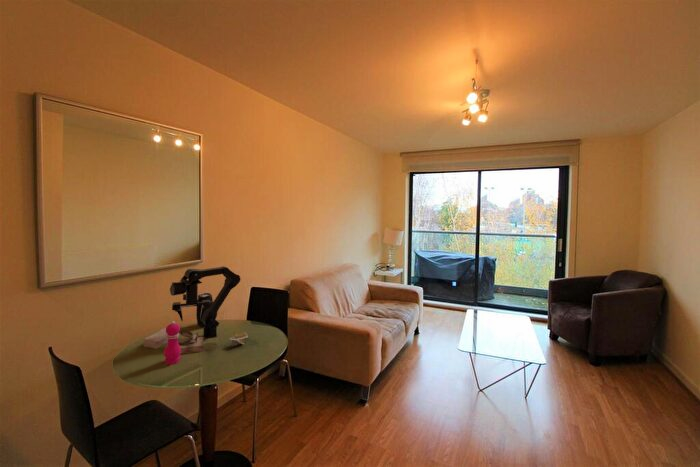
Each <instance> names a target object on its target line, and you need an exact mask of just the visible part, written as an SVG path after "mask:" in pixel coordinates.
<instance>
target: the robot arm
mask: <svg viewBox="0 0 700 467" xmlns="http://www.w3.org/2000/svg"><path fill="white" fill-rule="evenodd" d="M217 275H218V276H220V275H223V277H224V278H225V279H224V283H223V286H222V288H221V290H220V291H219V292H218V294H217V295H216V297H215V299H214V300H213V303H212V305H211V302H210V300H203V301H202V302H198V295H199V294H198V293H199V292H198V290H199V289H198V288H199V286H198V285H199V284H202V283H203V282H202V281H201V279H203V278H207V277H212V276H217ZM240 282H241V276H240V275H239V274H237V273H234V271H232V270H231V269H230V268H228V267H227V266H224V265H223V266H219V267H212V268H211V267H210V268H204V269H201V268H200V269H198V268H187V269H186V270H185V271H184V274H183V276H182V277H181V279H180V281H175V282H171V285H170V287H169V292H170V295H171V296H178V295H182V296H183V297H182V301H185V303H181V301H175V302H172V304H171V305H172V306H171V308H172V309H171V311H174V312H175V313H176V312H177V314H178V316H179V318H180V321H181V322H183V320H184V319H183V312H182V310H183V309H182V308H189V307H197V306H202V309H201V314H200V315H201V316H200V320H201V321H202V322H203V324H205V327H203V334H202V337H203V339H208V338H217V336H218V334H217V327H219V325H220V322H219V321H218V320H216V319H217V317H218V312H219V309H220V308H221V306H222V305H223V304H224V302H225V300H226V299H227V297H228V296H229V295H230V292H231V291H232V290H233V289H234V288H235V287H237V286H238V284H239V283H240ZM208 307H209V308H208Z"/></svg>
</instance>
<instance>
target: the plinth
mask: <svg viewBox="0 0 700 467" xmlns="http://www.w3.org/2000/svg"><path fill="white" fill-rule="evenodd" d="M187 338H188V337H185V338H178V343H179V342H181V341H183V340H185V339H187ZM195 339H196V338H195ZM179 346H180V348H181V354H189V353H198V352H204V336H198V338H197V342H196V341H195V340H191V341H190V342H187V343H184V344H182V345H179ZM181 354H180V355H181Z"/></svg>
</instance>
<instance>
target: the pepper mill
mask: <svg viewBox="0 0 700 467" xmlns="http://www.w3.org/2000/svg"><path fill="white" fill-rule="evenodd" d="M165 328H166V333H167V338H168V342H166V347H165V349H164V351H163V357H164V363H165V364H166V365H173V364H174V365H175V364H178V363H179V362H180V361H181V357H180V355H181V348H180V346H179V344H178V340H179V335H180V332H181V331H180V330H181V327H180V325H179V324H178V323H176V321H175V320H172V321H170V324H167V326H166V327H165Z"/></svg>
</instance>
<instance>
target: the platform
mask: <svg viewBox="0 0 700 467" xmlns="http://www.w3.org/2000/svg"><path fill="white" fill-rule="evenodd" d="M246 338H248V333H246V332H241V333H237V334H234V336H232V337H229V340H231V347H235V346H237V345H241V344H242V345H245V344H246V343H247V342H246Z"/></svg>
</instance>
